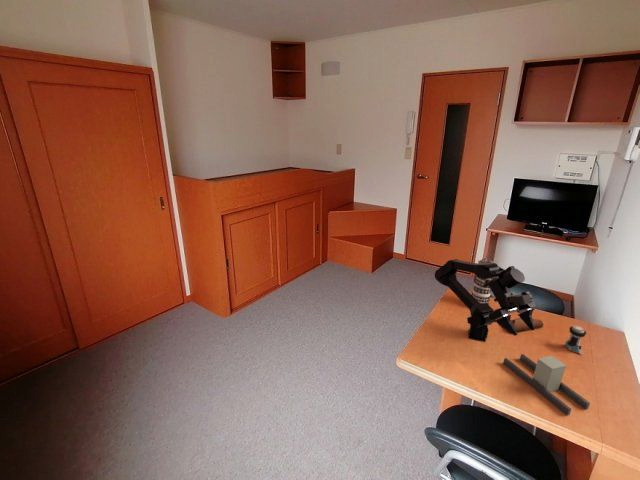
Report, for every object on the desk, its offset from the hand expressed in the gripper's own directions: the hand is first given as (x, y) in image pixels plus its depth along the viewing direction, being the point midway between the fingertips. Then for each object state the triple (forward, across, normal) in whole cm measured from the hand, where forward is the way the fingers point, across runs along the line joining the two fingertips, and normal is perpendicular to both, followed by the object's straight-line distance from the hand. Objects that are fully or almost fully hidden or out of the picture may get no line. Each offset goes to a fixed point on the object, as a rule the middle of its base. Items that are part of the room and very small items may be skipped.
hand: (524, 332), depth 117 cm
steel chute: (+18, -3, +3) cm, 19 cm away
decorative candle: (-19, +21, +35) cm, 45 cm away
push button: (+11, +30, +9) cm, 33 cm away
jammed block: (+18, -3, +2) cm, 18 cm away
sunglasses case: (-4, +25, +22) cm, 33 cm away
